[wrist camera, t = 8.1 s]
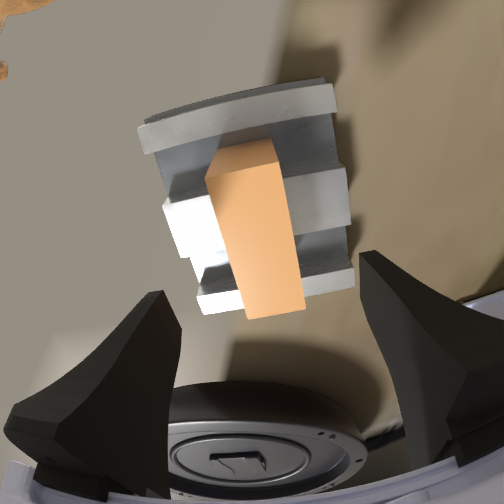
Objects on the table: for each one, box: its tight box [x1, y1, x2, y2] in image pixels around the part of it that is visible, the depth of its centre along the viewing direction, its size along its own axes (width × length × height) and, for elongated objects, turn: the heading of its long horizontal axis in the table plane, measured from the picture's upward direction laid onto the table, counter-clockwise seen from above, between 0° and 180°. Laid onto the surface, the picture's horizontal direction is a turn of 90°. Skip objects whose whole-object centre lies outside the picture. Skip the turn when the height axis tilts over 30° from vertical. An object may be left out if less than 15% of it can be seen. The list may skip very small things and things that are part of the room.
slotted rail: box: [137, 77, 355, 314], centre depth 18 cm, size 10×13×2 cm
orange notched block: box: [204, 138, 306, 319], centre depth 17 cm, size 3×8×5 cm, turn 13°
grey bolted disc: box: [168, 381, 367, 502], centre depth 33 cm, size 30×6×30 cm
